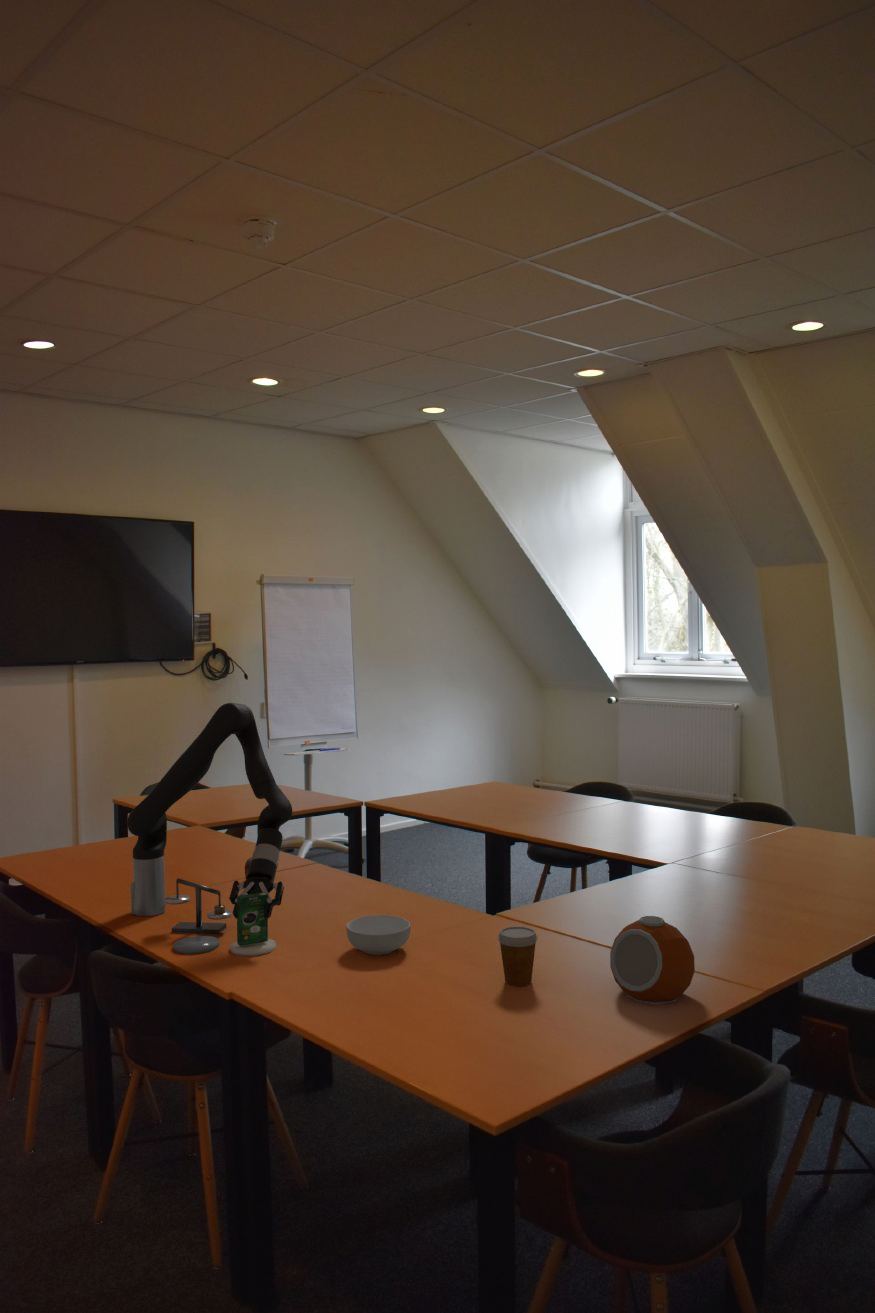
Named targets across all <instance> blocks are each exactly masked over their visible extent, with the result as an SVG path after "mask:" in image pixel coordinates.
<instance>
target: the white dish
mask: <svg viewBox="0 0 875 1313" xmlns="http://www.w3.org/2000/svg"><path fill="white" fill-rule="evenodd" d="M229 949H230V953H231V952H232V954H233V955H236V956H239V957H240V956H241V957H258V956H262V955H266V954H269V953H271V952H273V951H275V950H276V949H277V944H276V941H275V940H273V939H271V938H269V937H268V941H266V942H262V943H254V944H249V945H243V946H239V945H238V944H237V940H236V941H234V942H232V943H231V945H230V948H229Z"/></svg>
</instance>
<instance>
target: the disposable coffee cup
mask: <svg viewBox="0 0 875 1313" xmlns="http://www.w3.org/2000/svg"><path fill="white" fill-rule="evenodd" d="M497 939H498V942H499V945H500V951H501V952H500V953H501V961H502V968H503V974H504V975H503V976H504V982H505V983H506V984H507V985H509V986H511V987H513V986H514V987H524V986H528V985H530V984H531V983H532V979H533V970H534V960H535V952H536V943H537V940H538V935H537V932H536V931H535V930H534V929H533V928H531V927H527V926H526V927H525V926H518V925H517V926H507V927H504V928H502V929H500V930H499V933H498V935H497Z"/></svg>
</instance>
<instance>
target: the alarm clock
mask: <svg viewBox="0 0 875 1313" xmlns="http://www.w3.org/2000/svg"><path fill="white" fill-rule="evenodd" d="M609 954H610V955H609V956H610V958H609V959H610V960H609V961H610V962H609V964H610V970H611V972H612V976H613V979H614V981H615V983H616V984H617V985H618V987H619V988H620V989H621V990H622V991H623V993H624V994H625V996H626V997H628V998H630V999H632V1000H634V1001H636V1002H638V1003H645V1004H650V1005H661V1004H662V1005H663V1004H670V1003H673V1002H676V1001H678V1000H679V999H680V997H681V996H683V994H684V993H685V992H686V991H687V989H688V988H689V987H690V986H691V983H692V980H693V977H694V974H695V970H696V969H695V954H694V952H693V950H692V946H691V944H690V942H689V941H688V939H687V938H686V937H685V935H684V934H683V933H682V932H681V931H680V930H679V929H678V928H677V927H676V926H673V925H672V924H670V923H668V922H666V921H665V920H664V919H663V917H659V916H656V915H655V916H654V915H645V916H641V917H640V918H639V919H638V920H635V921H634V922H632V923H630V924H627V925H626V926H625V927H623V928H622V929H621V930H620V932H619V933H618V934H617V935H616V937H615V938H614V941H613V943H612V947H611V950H610V951H609Z"/></svg>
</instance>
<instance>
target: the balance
mask: <svg viewBox="0 0 875 1313" xmlns="http://www.w3.org/2000/svg"><path fill="white" fill-rule="evenodd" d="M179 884H181V885H185V886H188V887H191V888H194V890H195V921H193V922H192V921H178V923H177V924H175V925H174V926H172V928H171V933H172V932H179V933H178V934H206V935H207V934H209V935H210V934H213V935H219V934H220V933H222V932H223V931H224V930H225V929H226V928H227V923H226V922H203V910H202V908H203V907H202V905H203V904H202V891H204V892H208V893H211V894H214V895H218V897H217V898H218V904H215V905H214V910H211V911H208V912H207V918H208V919H209V920H213V921H214V920H216V921H217V920H226V919H230V918H231V917H232V916H233V911H232V910H230V909H226V905H225V904H222V900H221V897H222V896H221V890H219V889H215V888H212V887H209V886H206V885H202V884H199V883H195V882H192V881H189V880H185V879H182V878H176V880H175V886H176V887H175V888H176V890H175V891H176V892H175V893H176V894H173V895H170V896H167V897H165V903H166V905H167V904H168V905H181V904H186V903H189V902H190V901H191V896H190V895H189V894H188V895H187V894H179V893H180V892H179ZM221 931H222V932H221Z"/></svg>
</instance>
